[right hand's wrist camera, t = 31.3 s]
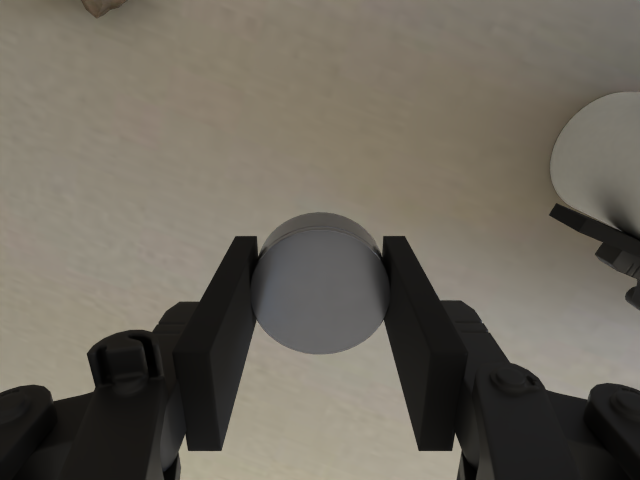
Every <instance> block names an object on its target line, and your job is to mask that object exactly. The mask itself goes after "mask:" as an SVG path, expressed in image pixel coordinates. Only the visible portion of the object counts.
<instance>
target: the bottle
mask: <svg viewBox="0 0 640 480" xmlns="http://www.w3.org/2000/svg"><path fill="white" fill-rule="evenodd" d="M550 175H551V180H552V183H553V186H554V189H555V190H556V192H557V194H558V195H559V196H560V198H561V199H562V200H563V201H564V202H565V203H566V204H568V205H569V206H571V207H573V208H575V209H577V210H579V211H581V212H583V213H585V214H587V215H589V216H591V217H593V218H595V219H598V220H600V221H602V222H604V223H606V224H608V225H610V226H612V227H614V228H616V229H618V230H620V231H622V232H624V233H627V234H629V235H631V236H633V237H635V238H637V239H639V240H640V92H619V93H613V94H610V95H606V96H604V97H601V98H599V99H597V100H595V101H593V102H591V103H590V104H588V105H587V106H585V107H584V108H582V109H581V110H580V111H579V112H578V113H576V114H575V115H574V116H573V117H572V118H571V120H570V121H569V122H568V123H567V124H566V126H565V127H564V128H563V130H562V131H561V133H560V135H559V136H558V139H557V141H556V143H555V145H554V148H553V151H552V156H551V162H550Z"/></svg>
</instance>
